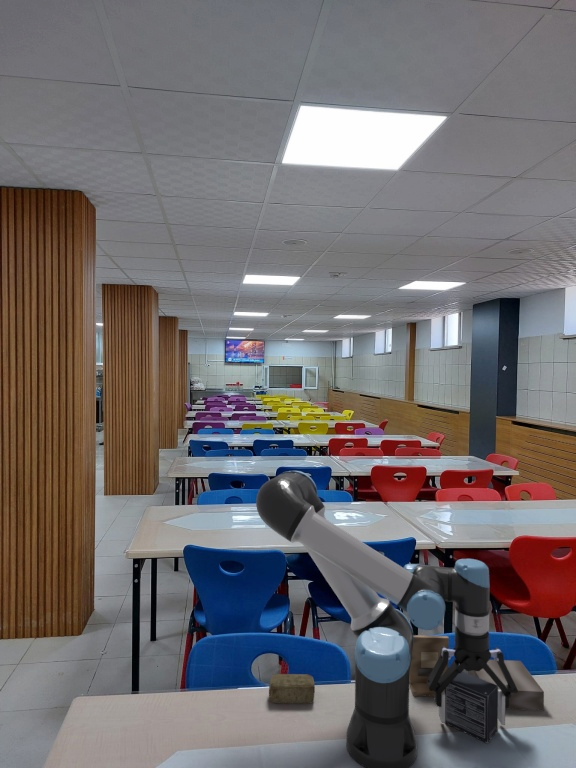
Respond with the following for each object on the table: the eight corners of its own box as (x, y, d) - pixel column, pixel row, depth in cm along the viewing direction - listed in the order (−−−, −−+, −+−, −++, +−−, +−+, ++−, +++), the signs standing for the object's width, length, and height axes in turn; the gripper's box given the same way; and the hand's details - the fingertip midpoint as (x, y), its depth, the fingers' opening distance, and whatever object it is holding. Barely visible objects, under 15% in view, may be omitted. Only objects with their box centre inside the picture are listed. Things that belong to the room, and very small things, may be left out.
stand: (413, 695, 129) (413, 644, 129) (408, 682, 135) (408, 633, 135) (452, 697, 128) (453, 645, 128) (446, 683, 134) (446, 634, 134)
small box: (499, 730, 116) (499, 684, 116) (488, 744, 111) (488, 697, 111) (455, 710, 123) (455, 667, 123) (443, 722, 119) (443, 677, 119)
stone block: (315, 705, 125) (315, 685, 125) (268, 706, 124) (269, 685, 124) (313, 691, 130) (313, 671, 130) (268, 692, 130) (269, 672, 130)
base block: (485, 709, 124) (485, 689, 124) (468, 677, 138) (468, 658, 138) (543, 712, 124) (543, 691, 124) (520, 679, 137) (520, 660, 138)
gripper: (421, 635, 114) (421, 729, 114) (533, 637, 113) (533, 732, 113) (414, 620, 122) (414, 708, 121) (519, 622, 121) (519, 711, 121)
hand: (471, 720), depth 117 cm, fingers open, 13 cm apart
